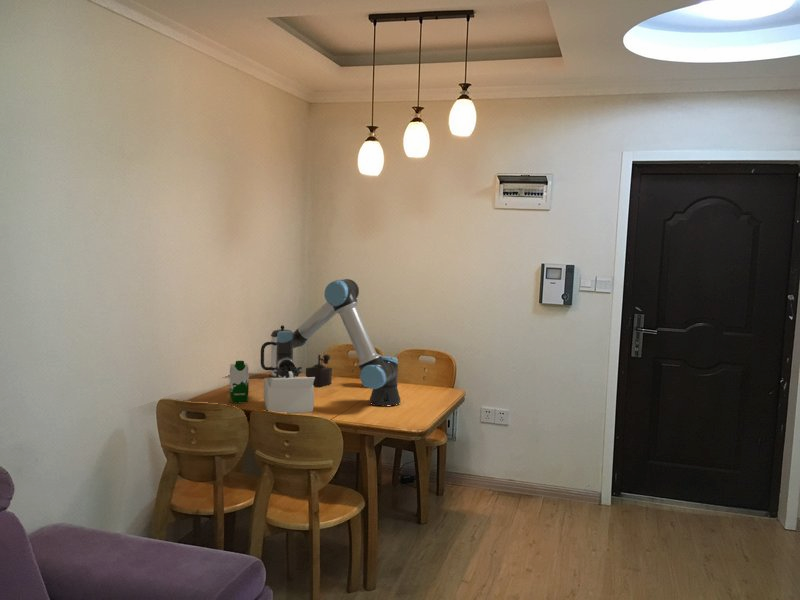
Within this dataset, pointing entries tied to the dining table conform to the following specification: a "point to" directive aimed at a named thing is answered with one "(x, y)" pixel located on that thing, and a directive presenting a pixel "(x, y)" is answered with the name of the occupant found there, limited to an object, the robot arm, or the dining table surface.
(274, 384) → the carton flap
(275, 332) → the coffee press
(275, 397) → the carton
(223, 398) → the dining table surface
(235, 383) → the milk carton
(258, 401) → the dining table surface
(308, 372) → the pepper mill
